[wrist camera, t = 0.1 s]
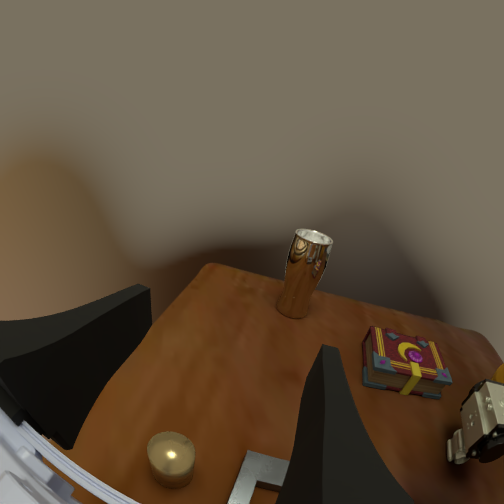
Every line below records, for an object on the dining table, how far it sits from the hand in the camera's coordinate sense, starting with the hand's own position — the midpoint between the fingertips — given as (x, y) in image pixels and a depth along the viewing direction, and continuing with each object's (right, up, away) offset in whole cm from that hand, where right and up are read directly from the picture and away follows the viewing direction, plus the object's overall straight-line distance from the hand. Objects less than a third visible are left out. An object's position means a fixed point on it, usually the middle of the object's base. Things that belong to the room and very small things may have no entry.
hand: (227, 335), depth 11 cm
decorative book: (+26, -18, +30) cm, 43 cm away
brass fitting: (-7, -18, +10) cm, 22 cm away
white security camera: (+29, -25, +13) cm, 40 cm away
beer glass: (+8, -8, +42) cm, 44 cm away
